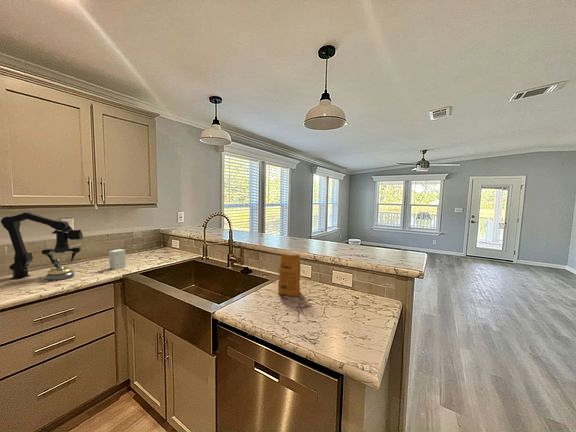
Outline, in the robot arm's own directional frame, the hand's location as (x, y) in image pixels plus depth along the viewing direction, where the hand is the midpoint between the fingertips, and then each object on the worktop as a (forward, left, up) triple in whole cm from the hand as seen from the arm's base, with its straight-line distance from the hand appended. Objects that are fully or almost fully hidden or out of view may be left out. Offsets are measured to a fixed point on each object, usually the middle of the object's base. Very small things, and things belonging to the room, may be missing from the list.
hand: (62, 263), depth 162 cm
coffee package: (+153, -27, -8) cm, 156 cm away
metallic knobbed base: (+3, -6, -4) cm, 8 cm away
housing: (+5, -6, -7) cm, 11 cm away
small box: (+25, +17, -8) cm, 31 cm away
